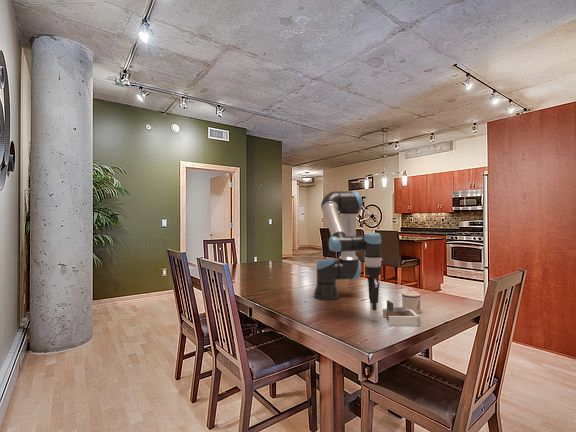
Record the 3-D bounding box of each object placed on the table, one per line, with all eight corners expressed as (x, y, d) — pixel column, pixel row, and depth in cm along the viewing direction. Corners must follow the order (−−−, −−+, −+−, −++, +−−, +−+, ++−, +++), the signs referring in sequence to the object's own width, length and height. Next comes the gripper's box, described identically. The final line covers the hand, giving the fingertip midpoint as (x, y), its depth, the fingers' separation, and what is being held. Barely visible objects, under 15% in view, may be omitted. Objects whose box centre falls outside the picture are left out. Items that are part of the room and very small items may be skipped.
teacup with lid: (421, 314, 154) (421, 291, 154) (402, 313, 157) (401, 290, 157) (419, 308, 165) (419, 286, 165) (401, 306, 168) (401, 285, 168)
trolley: (392, 323, 142) (391, 303, 142) (386, 319, 148) (386, 300, 148) (408, 323, 142) (408, 303, 142) (402, 318, 148) (402, 299, 148)
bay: (389, 325, 139) (389, 316, 139) (382, 316, 151) (382, 308, 151) (420, 326, 138) (420, 317, 138) (411, 317, 150) (410, 308, 150)
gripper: (384, 268, 139) (385, 320, 139) (377, 263, 152) (378, 312, 152) (367, 268, 139) (368, 320, 139) (362, 263, 152) (362, 311, 152)
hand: (373, 316), depth 146 cm, fingers closed
